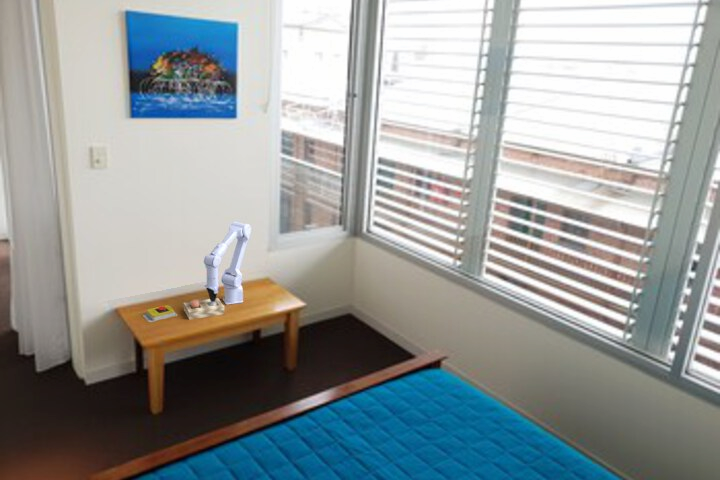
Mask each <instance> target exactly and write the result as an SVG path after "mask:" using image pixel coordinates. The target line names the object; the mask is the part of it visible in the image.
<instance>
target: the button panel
mask: <svg viewBox="0 0 720 480" xmlns="http://www.w3.org/2000/svg"><path fill="white" fill-rule="evenodd" d="M209 302H211V301H210V298H208V299H203V300H201V299H200V300H199V308H195V309H191V301H186V302H183V311H184V312H185V314H186V316H187V318H188V320H195V319H201V318H202V319H203V318H207V317H208V318H209V317H214V316H221V315H225V313H226V312H225V305H224V304H223V303H222V301H221V300H220V298H218V297H216V299H215V302H217V305H215V306H209Z"/></svg>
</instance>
